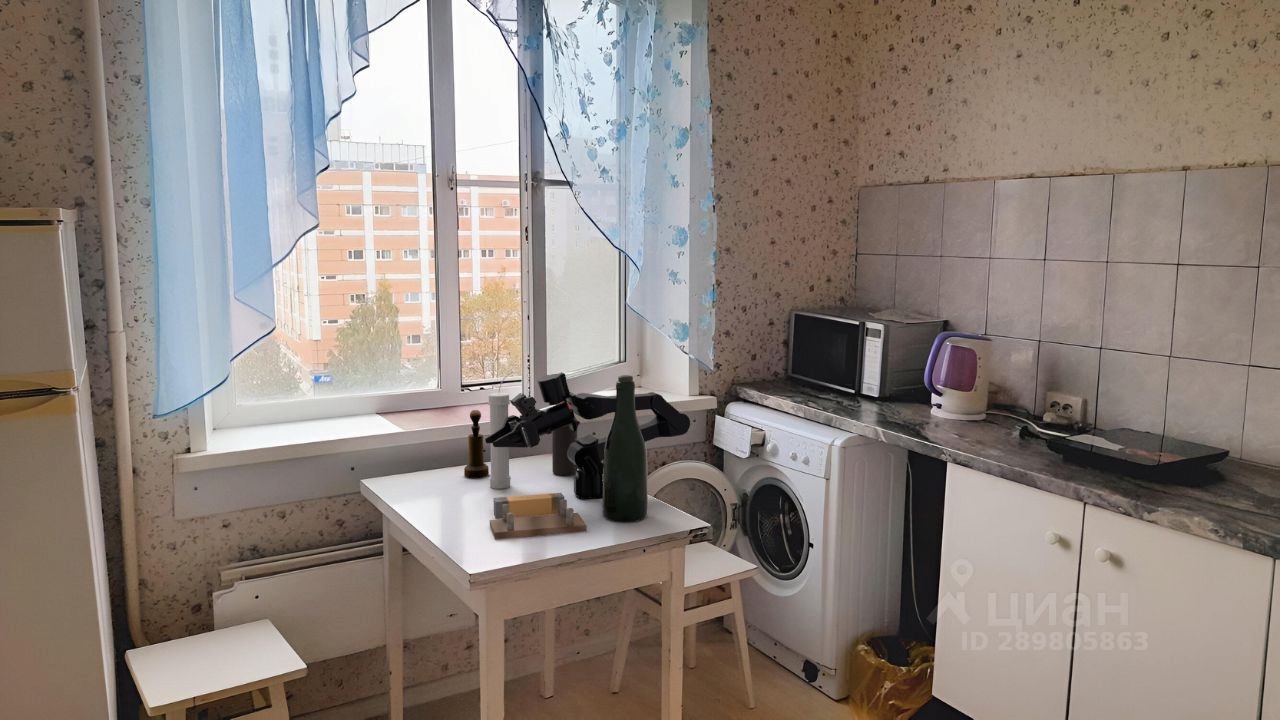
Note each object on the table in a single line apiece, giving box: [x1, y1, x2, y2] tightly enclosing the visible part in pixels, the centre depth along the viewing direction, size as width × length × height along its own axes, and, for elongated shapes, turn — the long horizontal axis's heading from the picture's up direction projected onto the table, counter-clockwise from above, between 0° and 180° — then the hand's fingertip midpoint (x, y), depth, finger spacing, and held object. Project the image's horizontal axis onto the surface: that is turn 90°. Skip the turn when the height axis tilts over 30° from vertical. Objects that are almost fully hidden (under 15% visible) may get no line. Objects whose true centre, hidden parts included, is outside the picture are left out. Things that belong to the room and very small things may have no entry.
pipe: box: [487, 371, 513, 490], centre depth 227 cm, size 6×6×30 cm
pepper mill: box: [463, 409, 490, 479], centre depth 239 cm, size 7×6×18 cm
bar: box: [492, 492, 565, 520], centre depth 206 cm, size 16×4×4 cm, turn 107°
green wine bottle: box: [602, 374, 649, 523], centre depth 203 cm, size 10×10×33 cm
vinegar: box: [551, 402, 578, 477], centre depth 242 cm, size 7×7×20 cm
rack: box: [489, 499, 588, 540], centre depth 195 cm, size 20×9×5 cm, turn 107°
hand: (489, 443), depth 210 cm, fingers open, 9 cm apart
